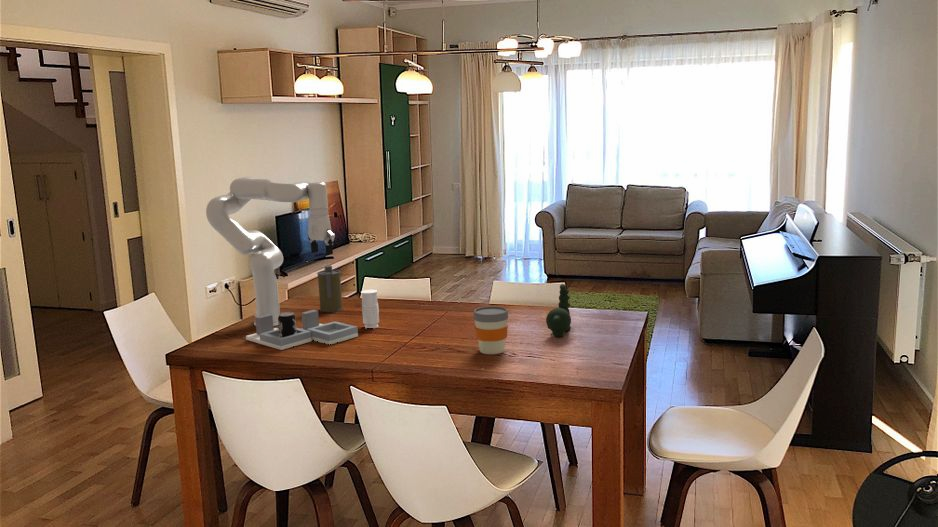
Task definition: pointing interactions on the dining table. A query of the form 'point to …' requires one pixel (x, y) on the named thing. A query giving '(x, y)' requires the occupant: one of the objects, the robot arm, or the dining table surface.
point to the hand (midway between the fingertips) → (322, 253)
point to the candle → (370, 308)
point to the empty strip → (327, 329)
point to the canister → (330, 290)
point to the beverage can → (286, 324)
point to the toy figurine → (560, 315)
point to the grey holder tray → (276, 334)
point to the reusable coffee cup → (491, 328)
